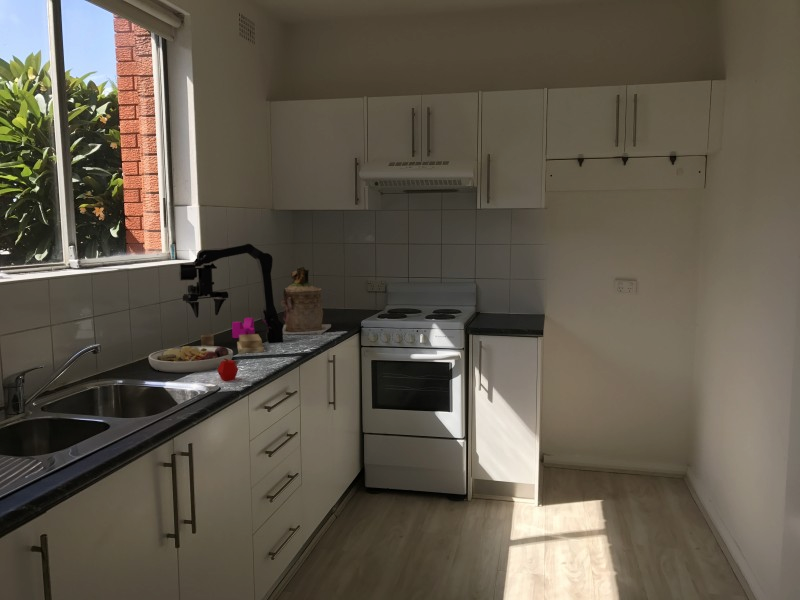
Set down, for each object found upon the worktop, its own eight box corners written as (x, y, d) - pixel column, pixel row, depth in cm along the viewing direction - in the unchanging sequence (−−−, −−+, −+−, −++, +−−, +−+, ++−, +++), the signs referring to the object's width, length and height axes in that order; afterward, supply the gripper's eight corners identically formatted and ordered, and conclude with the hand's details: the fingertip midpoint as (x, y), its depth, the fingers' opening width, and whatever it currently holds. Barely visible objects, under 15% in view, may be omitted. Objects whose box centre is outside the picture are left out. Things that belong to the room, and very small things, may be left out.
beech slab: (260, 347, 291) (260, 340, 290) (264, 355, 274) (264, 347, 273) (237, 348, 288) (236, 341, 288) (239, 356, 271) (239, 349, 270)
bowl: (133, 374, 239) (132, 352, 238) (172, 357, 268) (171, 338, 267) (213, 376, 235) (212, 354, 234) (245, 359, 264) (244, 339, 263)
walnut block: (213, 348, 286) (213, 334, 285) (214, 350, 281) (213, 336, 280) (201, 348, 284) (201, 334, 284) (201, 351, 279) (201, 336, 279)
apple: (213, 383, 223) (212, 360, 222) (222, 379, 230) (221, 356, 229) (233, 384, 222) (232, 360, 221) (241, 379, 229) (241, 356, 228)
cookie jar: (332, 327, 338) (331, 264, 334) (322, 336, 314) (321, 267, 310) (284, 327, 341) (283, 264, 337) (270, 335, 316) (268, 267, 313)
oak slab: (258, 340, 289) (258, 333, 289) (262, 347, 274) (261, 340, 274) (239, 341, 287) (238, 334, 287) (242, 348, 272) (241, 341, 271)
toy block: (245, 339, 308) (244, 322, 307) (232, 338, 309) (232, 322, 309) (258, 333, 323) (258, 318, 322) (246, 333, 324) (246, 317, 323)
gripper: (214, 277, 295) (215, 312, 297) (175, 279, 281) (176, 316, 283) (228, 278, 287) (229, 314, 289) (189, 281, 274) (190, 319, 276)
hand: (206, 316), depth 285 cm, fingers open, 9 cm apart
